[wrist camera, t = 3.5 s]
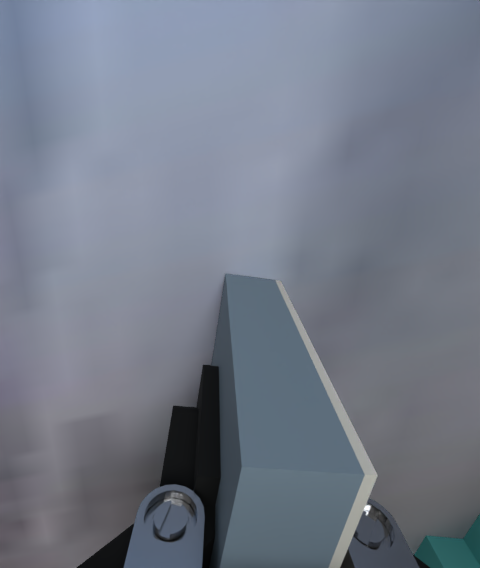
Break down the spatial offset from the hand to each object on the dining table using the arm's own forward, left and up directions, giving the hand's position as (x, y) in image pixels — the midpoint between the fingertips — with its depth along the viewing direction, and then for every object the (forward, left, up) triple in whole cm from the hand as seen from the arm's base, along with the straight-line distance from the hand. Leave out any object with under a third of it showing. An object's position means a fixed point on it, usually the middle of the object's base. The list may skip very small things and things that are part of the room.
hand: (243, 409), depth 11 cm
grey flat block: (0, 0, -3) cm, 3 cm away
